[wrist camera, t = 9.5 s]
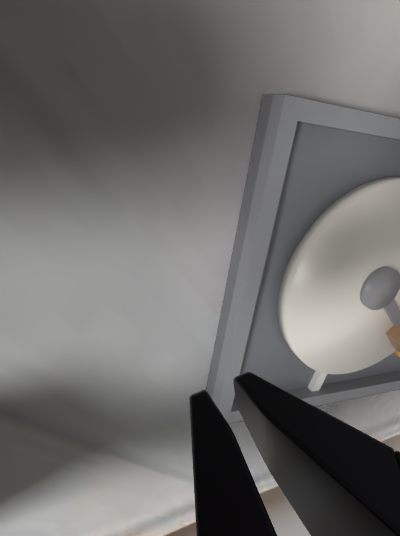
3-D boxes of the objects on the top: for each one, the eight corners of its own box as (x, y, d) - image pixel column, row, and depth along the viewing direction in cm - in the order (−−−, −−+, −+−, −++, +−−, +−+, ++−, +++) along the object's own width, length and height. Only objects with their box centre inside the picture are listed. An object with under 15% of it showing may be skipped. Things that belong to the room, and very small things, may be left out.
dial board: (203, 404, 26) (214, 426, 24) (262, 94, 18) (285, 94, 17) (402, 370, 34) (421, 385, 32) (500, 143, 26) (531, 146, 25)
